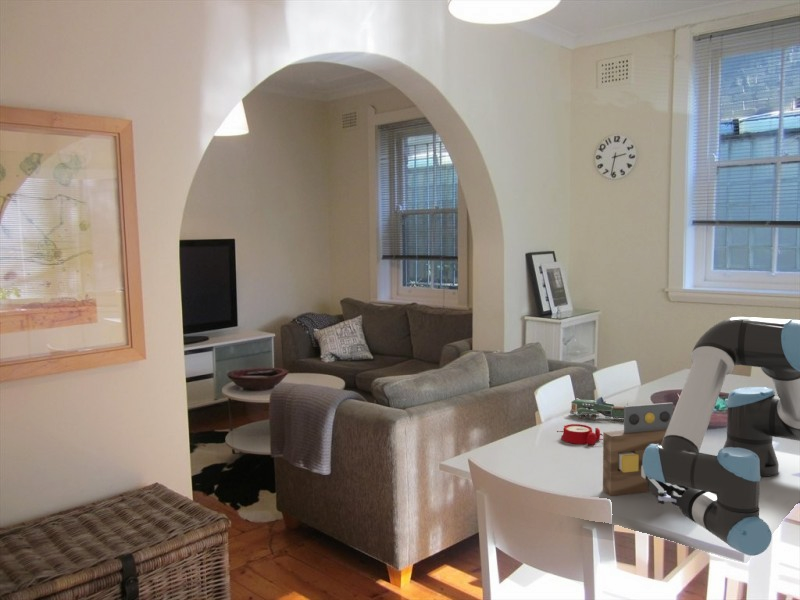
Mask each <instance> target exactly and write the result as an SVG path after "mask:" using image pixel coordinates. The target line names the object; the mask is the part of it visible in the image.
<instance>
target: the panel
mask: <svg viewBox="0 0 800 600" xmlns="http://www.w3.org/2000/svg"><path fill="white" fill-rule="evenodd" d="M666 430H667V429H664V430H653V431H642V432H631V433H624V429H623V430H621V429H620V430H613V431H611V430H609V431H603V434H602V435H603V438H602V439H603V441H602V442H603V444H602V447H603V449H602V491H603V492H604V493H606V494H607V495H608V496H610V497H614V496H625V495H634V494H642V493H650V492H651V491H650V490H649V489H648V481H647V480H646V479H645V478H643V477H642V476H641V466H642V461H643V454H644V450H645V449H646V447H648V445H649V444H659V445H661V443H662V441H663V438H664V435H665V433H666ZM630 451H631V452H633V453H634V454H637V455H639V466H638V471H634V472H622V471H621V470H620V469H618V453H620V452H630ZM651 493H652V492H651Z"/></svg>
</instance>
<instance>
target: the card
mask: <svg viewBox="0 0 800 600" xmlns="http://www.w3.org/2000/svg"><path fill="white" fill-rule="evenodd" d="M623 407H624V418H623V419H624V421H623V430H624V433H631V432H642V431H653V430H664V429H667V428H668V425H669V423H670V420H671V417H672V415H673V412H674V402H662V403H661V402H660V403H649V404H636V405H628V406H627V405H625V406H623Z"/></svg>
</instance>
